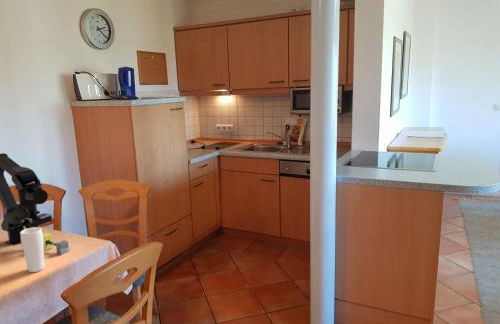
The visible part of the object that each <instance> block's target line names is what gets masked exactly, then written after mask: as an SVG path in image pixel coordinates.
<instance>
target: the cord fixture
mask: <svg viewBox="0 0 500 324" xmlns="http://www.w3.org/2000/svg"><path fill="white" fill-rule="evenodd" d="M68 241H69V240H65V239H63V240H61V241H58V242H57V241H53V242H51V241H45V242H46V244H50V245H53V247H54V246H55V248H56V254H57V255H61V256H62V255H64V254H66V253H69V252H70V248H69V242H68Z"/></svg>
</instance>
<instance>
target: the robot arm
mask: <svg viewBox="0 0 500 324" xmlns="http://www.w3.org/2000/svg"><path fill="white" fill-rule="evenodd" d="M5 172H6V173H7V174H8V175H10V176H11V181H12V183H13V184H14V185H15V186H16V187H15V190H17V195H18V201H19V202H18V203H17V201H16V199H15V196H14V194H13V193H12V191H11V187H10V186H9V183H8V181H7V179H6V177H5V175H4V174H5ZM41 182H42V181H41V180H40V179H39V177H38V175H37V174H36V172H35V171H34V170H33V169H31V168H29V167H26V166H21V165H20V164H18V163H17V162H15V161H14V159H12V158H11V157H9V155H8V153H4V152H2V153H0V202H1V204H2V206H3V208H4V210H3V211H4V212H3V215H2V217H3V220H2V222H1V225H0V227H1V230H2V231H5V232H7V236H8V240H6V241H5V243H6V244H9V245H18V244H20V243H21V236H20V232H21V231H22V230H24V229H27V228H32V227H39V226H40V225H44V224H46V223H49V222H52V221H53V216H52V215H51V214H50V213H41V211H40V210H38V207H37V205H42V204H45V203H46V202H47V200H48V198H49V194H48V192H47V191H46V190H45V189H43V187H42V184H41ZM40 213H41V214H40ZM21 244H22V243H21Z"/></svg>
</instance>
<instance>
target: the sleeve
mask: <svg viewBox="0 0 500 324" xmlns="http://www.w3.org/2000/svg"><path fill="white" fill-rule="evenodd" d="M42 233H43V243H44V252H45V251H48V250H49V249H52V248H54V246H53V245H50V244H46V242H45V241H51V242H54V241H53V234H52V233H48V232H47V233H46V232H42Z"/></svg>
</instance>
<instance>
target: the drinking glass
mask: <svg viewBox="0 0 500 324" xmlns="http://www.w3.org/2000/svg"><path fill="white" fill-rule="evenodd" d="M43 233H44V232H43V229H42V227H39V226H38V227H32V228H27V229H26V228H24V230H22V231H21V232H20V236H21V247H22V251H23V255H24V259H25V263H26V268H27V271H28V272H29V273H37V272H40V271H43V270H44V269H45V256H44V255H45V251H44V243H43Z"/></svg>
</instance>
